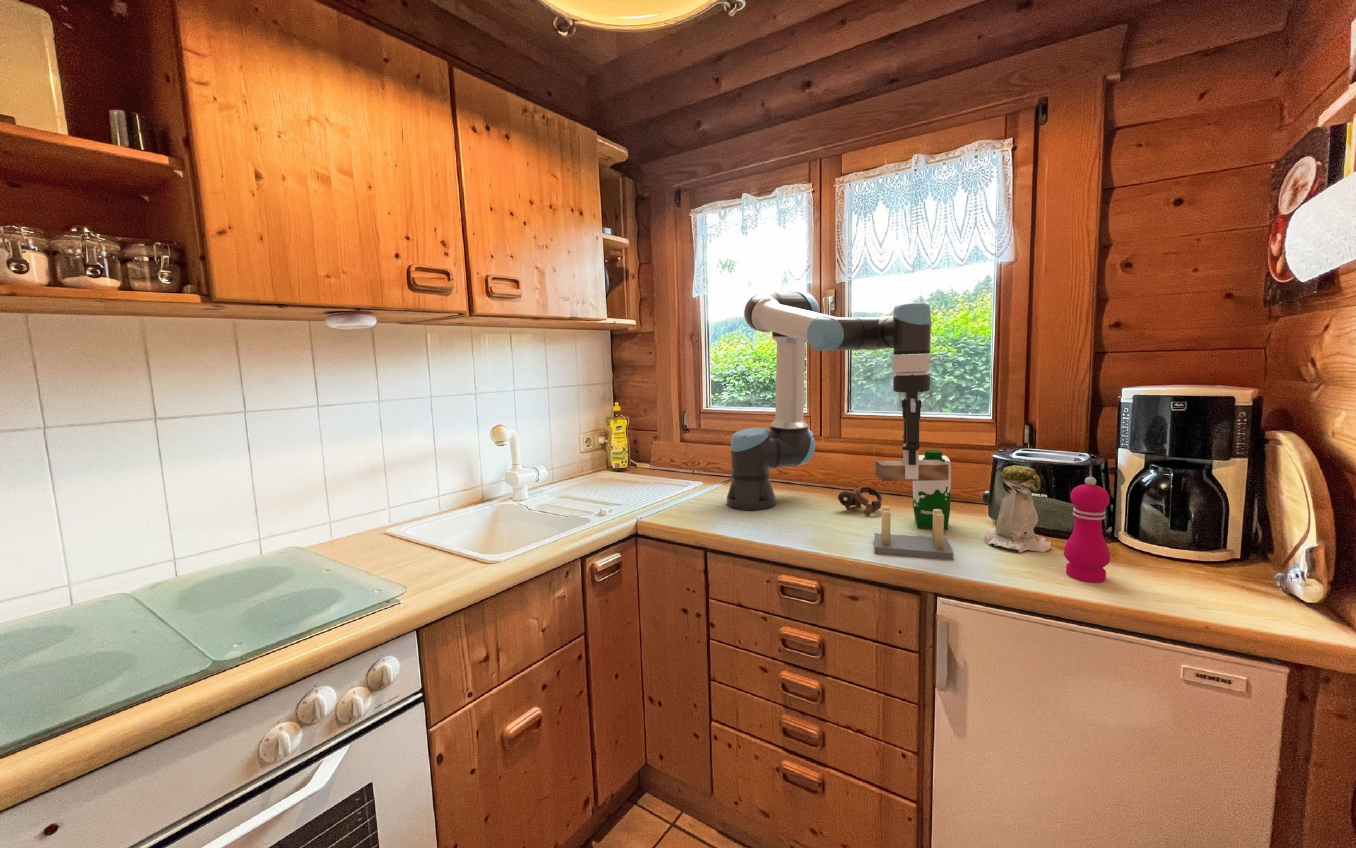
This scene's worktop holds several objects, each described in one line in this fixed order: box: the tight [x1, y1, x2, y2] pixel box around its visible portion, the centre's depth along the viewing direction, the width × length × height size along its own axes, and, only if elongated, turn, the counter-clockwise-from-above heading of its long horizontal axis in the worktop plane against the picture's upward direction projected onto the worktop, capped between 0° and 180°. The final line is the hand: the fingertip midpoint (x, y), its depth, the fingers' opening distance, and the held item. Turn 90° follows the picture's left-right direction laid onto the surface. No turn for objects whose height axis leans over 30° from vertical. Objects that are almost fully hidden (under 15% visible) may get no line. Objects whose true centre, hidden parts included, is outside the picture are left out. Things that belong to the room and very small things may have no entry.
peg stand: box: [873, 505, 954, 561], centre depth 122 cm, size 16×10×9 cm, turn 70°
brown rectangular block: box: [875, 459, 949, 482], centre depth 120 cm, size 14×6×4 cm, turn 84°
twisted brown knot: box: [837, 485, 883, 516], centre depth 153 cm, size 12×10×8 cm
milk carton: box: [912, 449, 952, 531], centre depth 138 cm, size 9×9×20 cm
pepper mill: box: [1063, 476, 1111, 583], centre depth 103 cm, size 7×7×20 cm
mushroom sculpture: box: [984, 464, 1051, 554], centre depth 122 cm, size 12×13×18 cm
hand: (910, 475), depth 120 cm, fingers closed on brown rectangular block, 7 cm apart
